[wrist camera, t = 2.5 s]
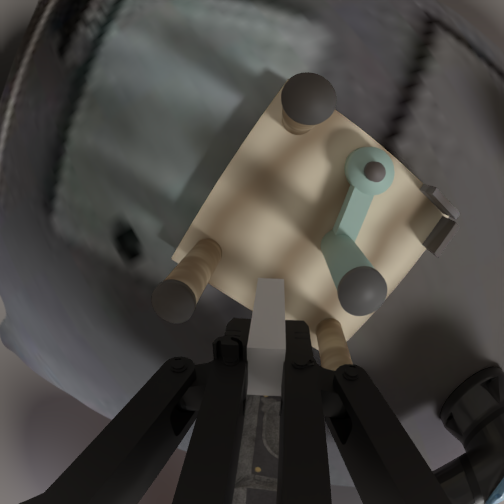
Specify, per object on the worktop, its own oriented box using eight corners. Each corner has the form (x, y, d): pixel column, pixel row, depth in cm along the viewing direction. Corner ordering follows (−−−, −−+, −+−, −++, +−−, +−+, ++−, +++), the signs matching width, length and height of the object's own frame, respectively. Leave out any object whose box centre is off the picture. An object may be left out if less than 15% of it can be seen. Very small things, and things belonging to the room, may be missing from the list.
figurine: (241, 368, 38) (206, 540, 15) (332, 394, 39) (350, 550, 15) (221, 407, 41) (186, 550, 18) (303, 429, 42) (303, 564, 18)
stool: (440, 208, 29) (514, 243, 16) (328, 345, 36) (343, 427, 23) (287, 84, 27) (293, 34, 14) (178, 251, 34) (123, 309, 21)
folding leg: (353, 139, 25) (395, 133, 15) (393, 158, 25) (450, 164, 15) (309, 252, 29) (324, 305, 19) (348, 266, 29) (378, 323, 19)
